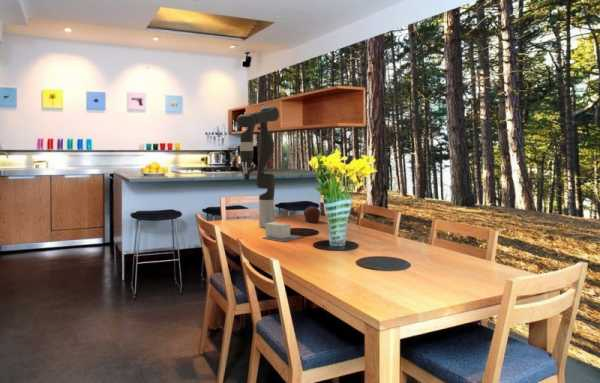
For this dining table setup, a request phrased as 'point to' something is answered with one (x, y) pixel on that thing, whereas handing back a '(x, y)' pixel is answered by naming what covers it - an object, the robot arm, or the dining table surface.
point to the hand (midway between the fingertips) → (246, 180)
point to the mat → (292, 237)
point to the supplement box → (277, 230)
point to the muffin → (312, 214)
